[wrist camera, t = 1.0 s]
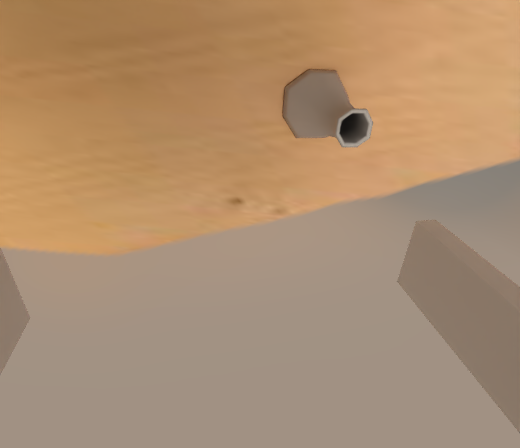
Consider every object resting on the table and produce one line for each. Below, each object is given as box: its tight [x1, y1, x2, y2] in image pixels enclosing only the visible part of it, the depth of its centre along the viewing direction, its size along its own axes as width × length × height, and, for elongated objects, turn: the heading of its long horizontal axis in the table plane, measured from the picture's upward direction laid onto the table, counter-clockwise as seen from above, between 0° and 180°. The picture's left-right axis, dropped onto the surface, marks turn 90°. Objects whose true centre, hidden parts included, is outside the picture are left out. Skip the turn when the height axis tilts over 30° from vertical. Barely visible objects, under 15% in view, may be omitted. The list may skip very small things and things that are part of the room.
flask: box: [283, 69, 373, 147], centre depth 32 cm, size 7×7×10 cm
